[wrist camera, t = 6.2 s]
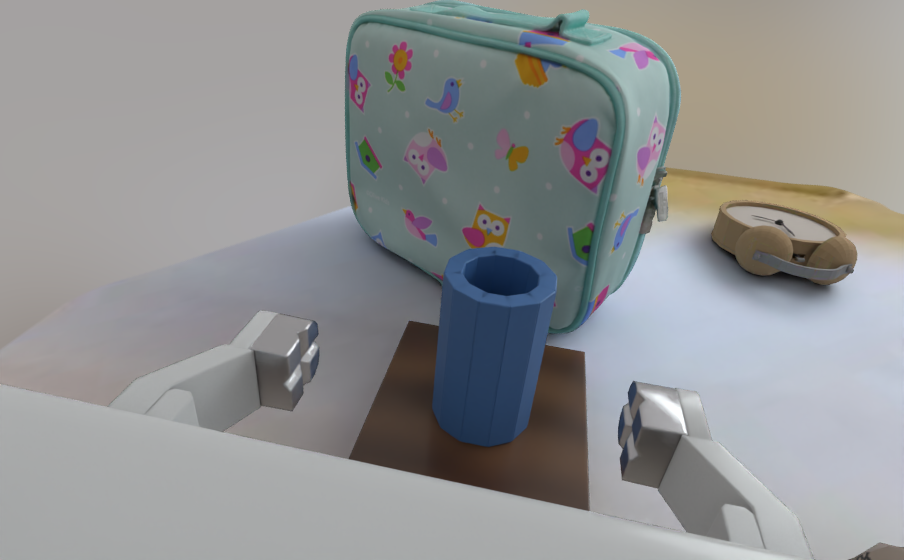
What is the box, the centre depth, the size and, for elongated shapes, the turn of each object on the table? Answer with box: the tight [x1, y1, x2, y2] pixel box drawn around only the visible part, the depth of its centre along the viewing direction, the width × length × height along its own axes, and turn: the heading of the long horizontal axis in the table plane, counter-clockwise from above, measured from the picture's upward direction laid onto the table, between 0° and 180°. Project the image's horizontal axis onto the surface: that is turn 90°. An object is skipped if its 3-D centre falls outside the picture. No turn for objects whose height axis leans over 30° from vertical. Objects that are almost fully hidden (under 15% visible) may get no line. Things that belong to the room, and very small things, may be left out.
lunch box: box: [345, 0, 681, 334], centre depth 42 cm, size 27×10×21 cm, turn 48°
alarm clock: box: [711, 200, 857, 285], centre depth 54 cm, size 11×5×15 cm
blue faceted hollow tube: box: [432, 247, 557, 447], centre depth 29 cm, size 5×5×9 cm
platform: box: [349, 321, 590, 511], centre depth 30 cm, size 14×12×9 cm
